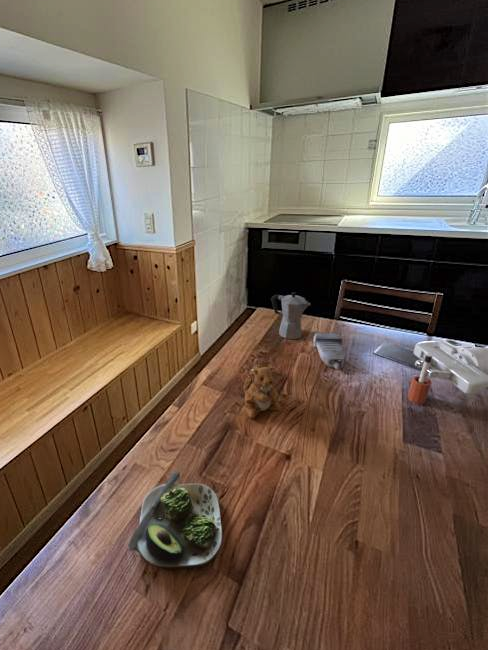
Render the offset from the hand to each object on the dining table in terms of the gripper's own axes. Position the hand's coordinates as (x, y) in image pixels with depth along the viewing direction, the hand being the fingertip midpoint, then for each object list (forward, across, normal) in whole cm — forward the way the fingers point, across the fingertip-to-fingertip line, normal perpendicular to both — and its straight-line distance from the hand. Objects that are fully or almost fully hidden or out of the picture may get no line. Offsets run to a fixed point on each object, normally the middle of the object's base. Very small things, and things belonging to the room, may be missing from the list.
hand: (422, 368), depth 92 cm
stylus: (-1, 0, -10) cm, 11 cm away
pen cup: (-1, 0, -11) cm, 11 cm away
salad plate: (+70, -27, -11) cm, 76 cm away
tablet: (-12, +20, -11) cm, 26 cm away
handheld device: (+12, +25, -11) cm, 30 cm away
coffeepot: (+21, +44, -11) cm, 50 cm away
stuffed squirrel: (+44, +6, -11) cm, 46 cm away
